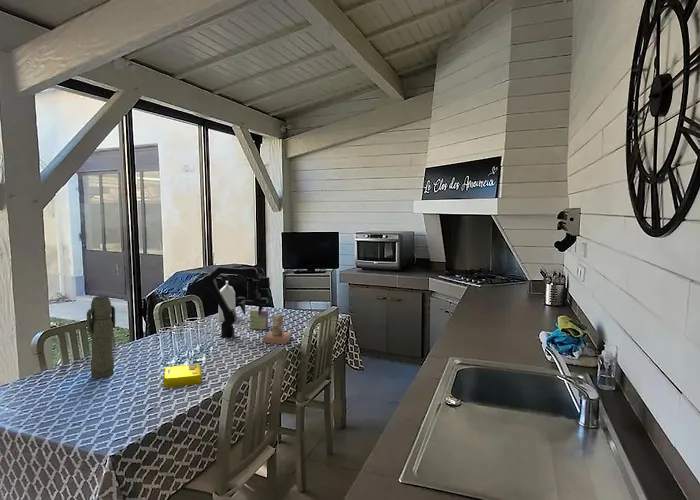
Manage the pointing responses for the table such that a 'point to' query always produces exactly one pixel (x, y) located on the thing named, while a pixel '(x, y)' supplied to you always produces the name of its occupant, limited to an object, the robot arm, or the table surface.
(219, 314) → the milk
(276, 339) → the base
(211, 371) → the table surface
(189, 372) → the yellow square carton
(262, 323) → the box
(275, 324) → the post
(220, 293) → the robot arm
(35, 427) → the table surface
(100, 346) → the thermos
